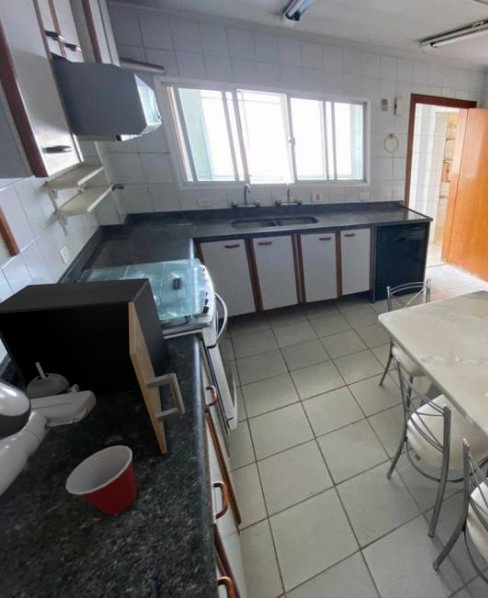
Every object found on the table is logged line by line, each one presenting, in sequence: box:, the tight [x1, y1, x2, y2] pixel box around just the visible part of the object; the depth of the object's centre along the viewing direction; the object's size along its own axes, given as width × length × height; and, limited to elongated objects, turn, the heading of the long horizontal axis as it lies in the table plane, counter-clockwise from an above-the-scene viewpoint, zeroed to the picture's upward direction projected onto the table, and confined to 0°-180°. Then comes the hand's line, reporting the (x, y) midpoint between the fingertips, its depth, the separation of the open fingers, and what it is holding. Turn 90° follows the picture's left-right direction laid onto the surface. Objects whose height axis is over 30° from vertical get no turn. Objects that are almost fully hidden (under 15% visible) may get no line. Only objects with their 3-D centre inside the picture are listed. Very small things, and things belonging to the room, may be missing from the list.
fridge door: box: [129, 302, 186, 455], centre depth 90 cm, size 7×30×31 cm, turn 37°
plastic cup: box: [65, 445, 138, 515], centre depth 70 cm, size 11×11×12 cm
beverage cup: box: [26, 362, 79, 434], centre depth 79 cm, size 7×7×20 cm
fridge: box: [0, 277, 170, 399], centre depth 101 cm, size 18×30×32 cm, turn 112°
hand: (51, 390), depth 80 cm, fingers closed on beverage cup, 7 cm apart
